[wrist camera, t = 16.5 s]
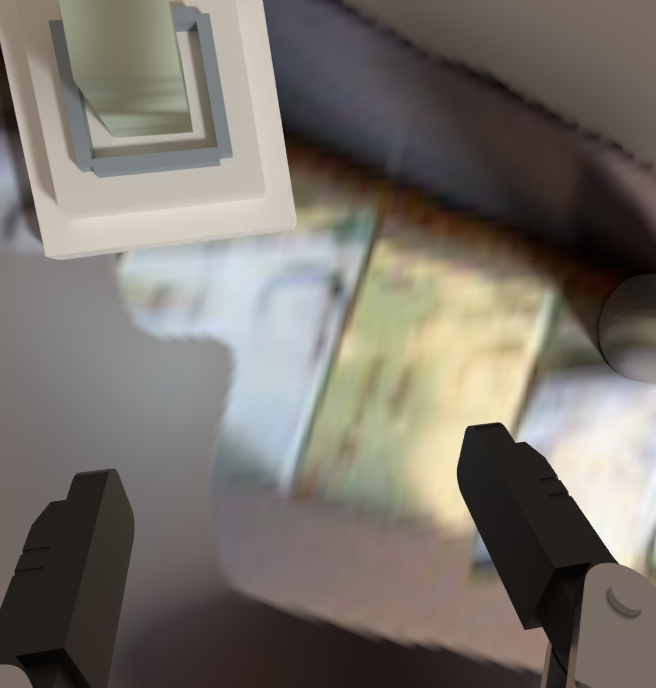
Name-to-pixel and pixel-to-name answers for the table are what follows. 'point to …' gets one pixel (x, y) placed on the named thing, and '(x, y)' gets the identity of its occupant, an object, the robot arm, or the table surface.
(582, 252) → the table surface
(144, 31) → the block
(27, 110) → the plinth
